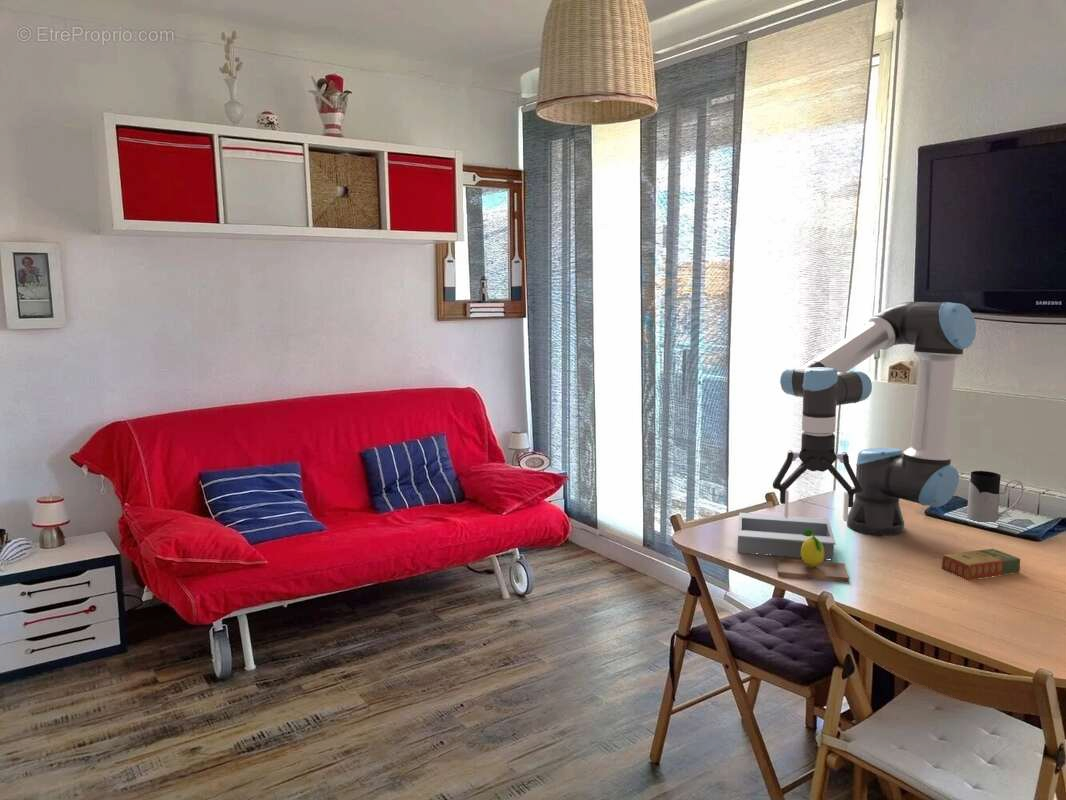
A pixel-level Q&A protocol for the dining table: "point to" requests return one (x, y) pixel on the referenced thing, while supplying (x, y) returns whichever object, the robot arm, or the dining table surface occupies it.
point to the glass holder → (986, 496)
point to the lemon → (812, 550)
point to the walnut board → (812, 570)
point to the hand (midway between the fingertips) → (815, 518)
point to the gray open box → (781, 534)
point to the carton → (980, 564)
